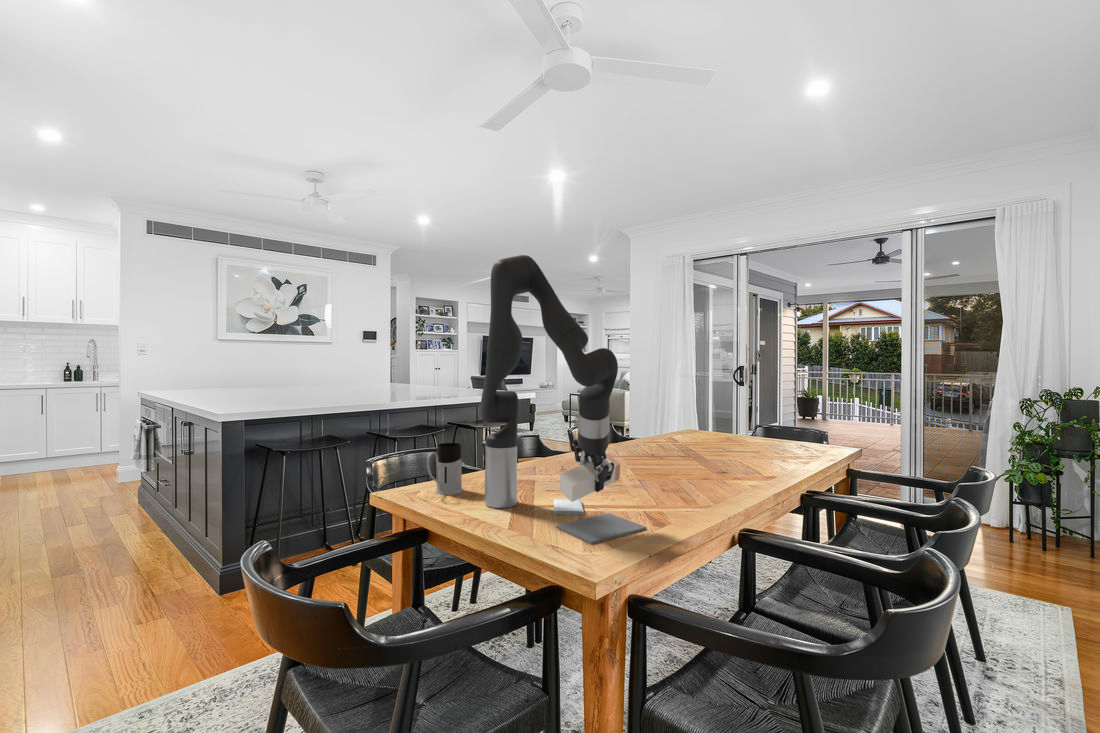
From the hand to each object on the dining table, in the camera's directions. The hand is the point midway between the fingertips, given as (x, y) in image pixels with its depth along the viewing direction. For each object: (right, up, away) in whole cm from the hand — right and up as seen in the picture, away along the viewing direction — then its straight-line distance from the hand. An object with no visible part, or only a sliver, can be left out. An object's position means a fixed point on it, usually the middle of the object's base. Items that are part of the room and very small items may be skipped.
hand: (592, 483), depth 129 cm
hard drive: (-6, -12, +17) cm, 21 cm away
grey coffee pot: (-45, -11, +33) cm, 56 cm away
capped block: (-7, 0, -5) cm, 8 cm away
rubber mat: (+2, -11, 0) cm, 11 cm away
